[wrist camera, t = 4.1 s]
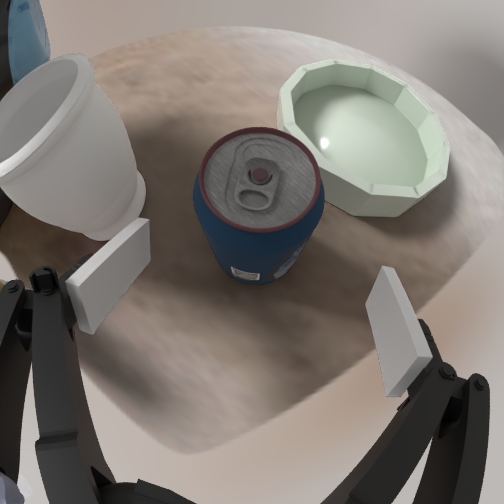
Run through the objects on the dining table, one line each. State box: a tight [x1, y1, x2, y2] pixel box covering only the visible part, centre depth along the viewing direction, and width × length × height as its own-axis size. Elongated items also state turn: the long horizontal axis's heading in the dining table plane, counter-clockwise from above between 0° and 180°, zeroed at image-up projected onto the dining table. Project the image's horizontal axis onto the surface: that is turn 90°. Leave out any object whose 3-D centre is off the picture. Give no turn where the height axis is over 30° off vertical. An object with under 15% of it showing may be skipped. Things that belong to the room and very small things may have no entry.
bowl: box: [277, 59, 450, 217], centre depth 25 cm, size 18×18×4 cm
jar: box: [0, 53, 146, 241], centre depth 18 cm, size 11×10×15 cm
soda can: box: [193, 127, 325, 284], centre depth 19 cm, size 7×7×12 cm
